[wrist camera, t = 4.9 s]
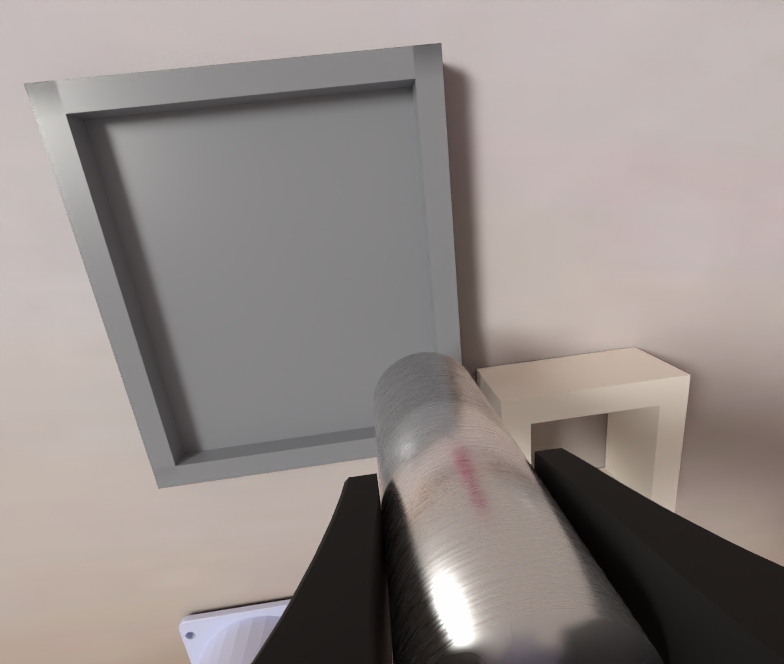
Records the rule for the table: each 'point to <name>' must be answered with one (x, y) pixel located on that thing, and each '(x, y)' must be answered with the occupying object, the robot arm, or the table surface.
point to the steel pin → (482, 537)
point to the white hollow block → (602, 410)
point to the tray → (260, 246)
